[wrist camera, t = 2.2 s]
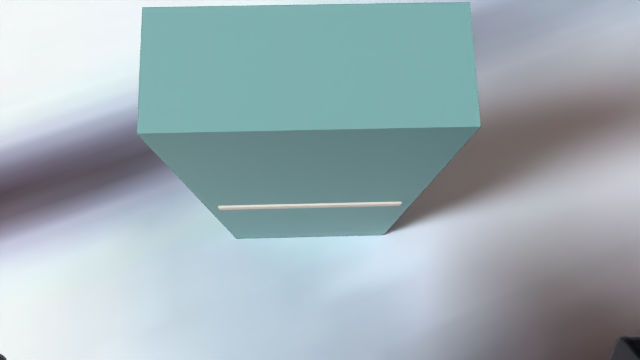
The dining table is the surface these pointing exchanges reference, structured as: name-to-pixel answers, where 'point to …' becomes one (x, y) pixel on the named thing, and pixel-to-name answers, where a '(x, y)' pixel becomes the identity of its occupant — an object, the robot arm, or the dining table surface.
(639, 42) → the dining table surface
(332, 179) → the teal domino
